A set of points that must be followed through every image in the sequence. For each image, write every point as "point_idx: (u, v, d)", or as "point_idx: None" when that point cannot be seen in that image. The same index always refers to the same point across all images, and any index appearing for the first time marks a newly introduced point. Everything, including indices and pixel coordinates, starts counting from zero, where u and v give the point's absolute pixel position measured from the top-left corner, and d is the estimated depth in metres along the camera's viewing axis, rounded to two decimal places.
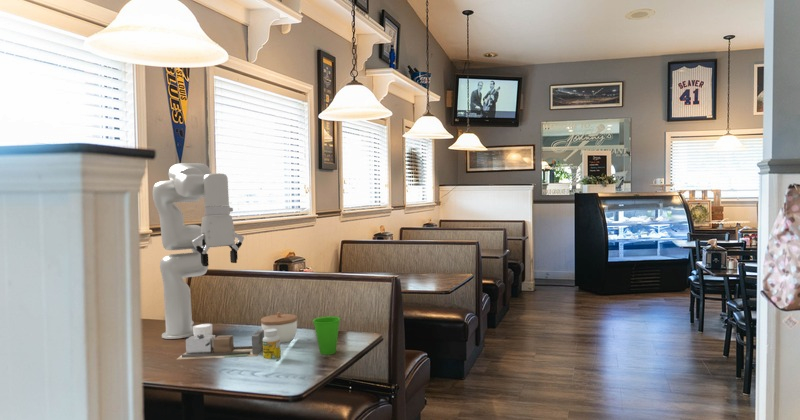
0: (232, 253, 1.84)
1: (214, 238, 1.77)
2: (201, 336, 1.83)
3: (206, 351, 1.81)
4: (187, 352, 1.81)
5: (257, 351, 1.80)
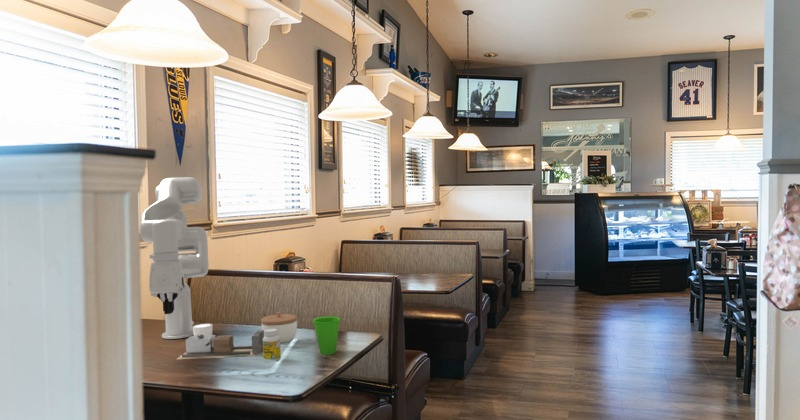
0: None
1: None
2: (201, 336, 1.83)
3: (206, 351, 1.81)
4: (187, 352, 1.81)
5: (257, 351, 1.80)
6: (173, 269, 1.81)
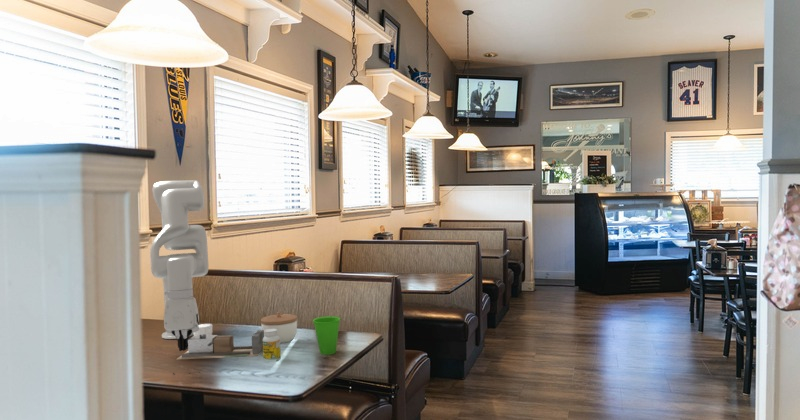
0: None
1: None
2: (203, 336, 1.83)
3: (208, 351, 1.81)
4: (189, 352, 1.81)
5: (257, 351, 1.80)
6: (188, 306, 1.81)
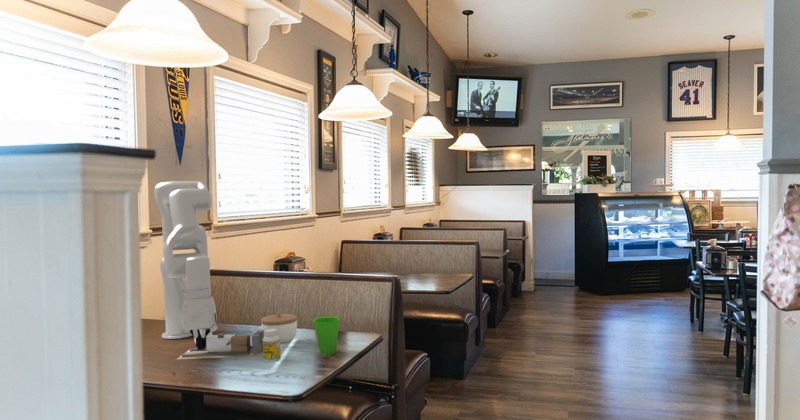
0: None
1: None
2: (221, 335, 1.83)
3: (227, 350, 1.81)
4: (208, 351, 1.81)
5: (257, 351, 1.80)
6: (206, 305, 1.81)
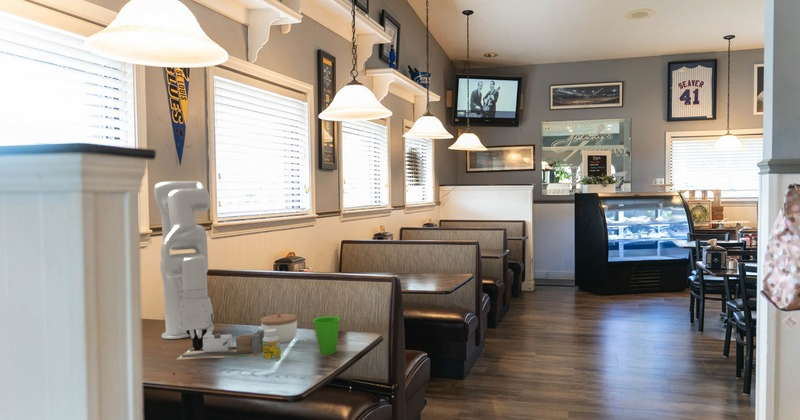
0: None
1: None
2: (218, 335, 1.83)
3: (223, 350, 1.81)
4: (204, 351, 1.81)
5: (257, 351, 1.80)
6: (203, 306, 1.81)
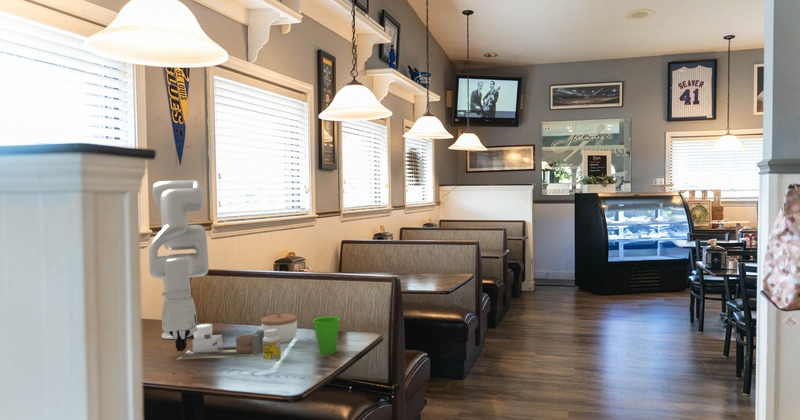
0: None
1: None
2: (208, 336, 1.83)
3: (213, 351, 1.81)
4: (194, 352, 1.81)
5: (257, 351, 1.80)
6: (186, 307, 1.81)
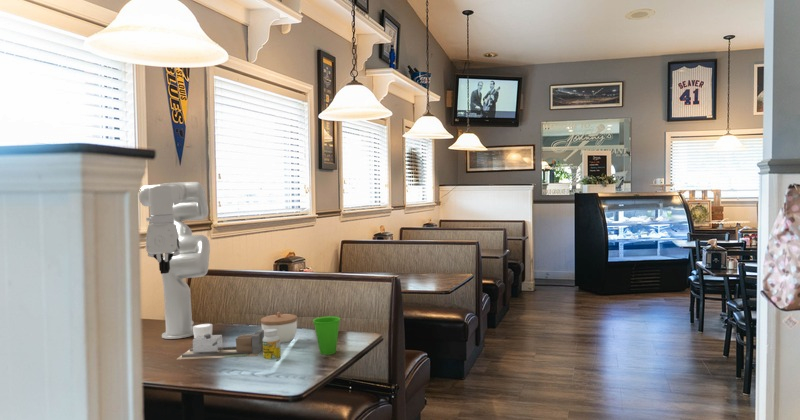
0: None
1: None
2: (208, 336, 1.83)
3: (213, 351, 1.81)
4: (194, 352, 1.81)
5: (257, 351, 1.80)
6: (168, 230, 1.91)
